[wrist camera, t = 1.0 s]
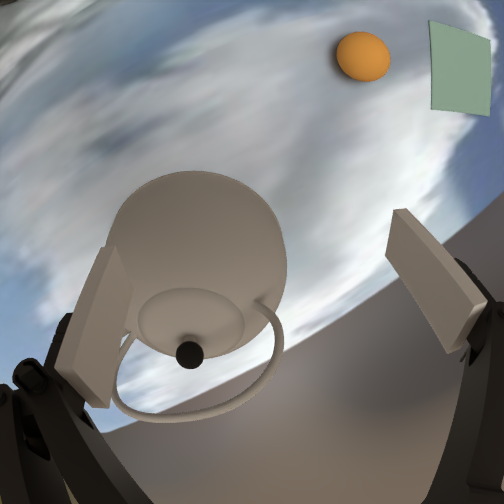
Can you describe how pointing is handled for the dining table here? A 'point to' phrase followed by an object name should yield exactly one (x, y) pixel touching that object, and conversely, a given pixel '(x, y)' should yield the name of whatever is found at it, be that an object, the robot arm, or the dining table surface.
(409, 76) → the dining table surface
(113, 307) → the robot arm
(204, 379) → the dining table surface
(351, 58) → the ball
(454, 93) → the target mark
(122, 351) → the kettle
